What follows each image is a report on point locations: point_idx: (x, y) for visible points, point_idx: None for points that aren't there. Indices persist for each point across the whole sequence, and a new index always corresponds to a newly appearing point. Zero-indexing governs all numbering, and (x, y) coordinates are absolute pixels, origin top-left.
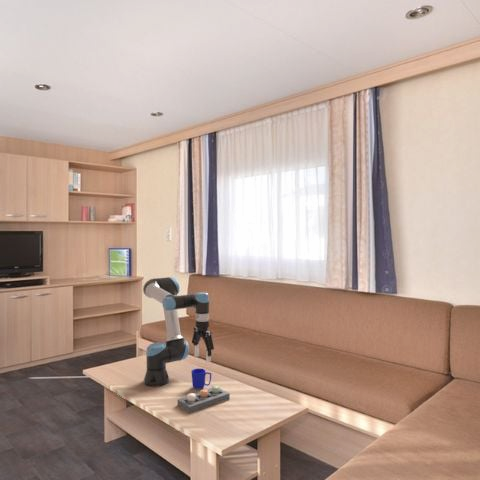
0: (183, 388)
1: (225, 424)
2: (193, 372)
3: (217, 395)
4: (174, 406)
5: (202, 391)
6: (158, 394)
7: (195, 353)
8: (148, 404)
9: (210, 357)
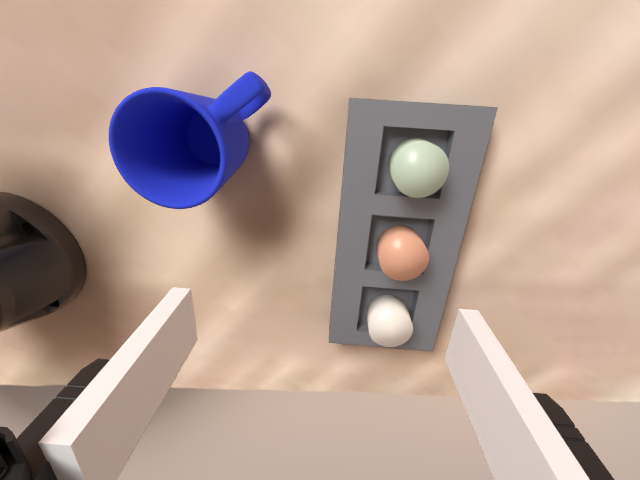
0: None
1: (626, 303)
2: (140, 168)
3: (452, 186)
4: None
5: (403, 269)
6: None
7: (176, 372)
8: (246, 384)
9: (499, 356)
